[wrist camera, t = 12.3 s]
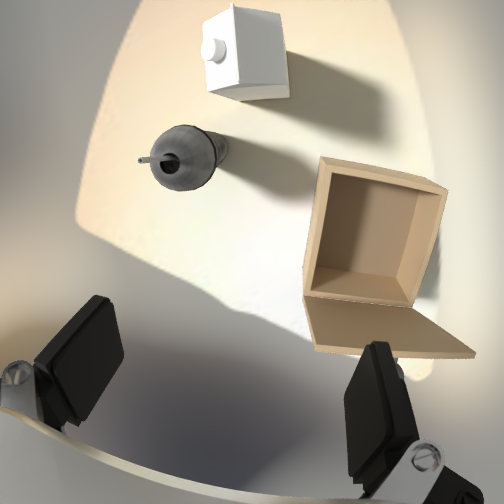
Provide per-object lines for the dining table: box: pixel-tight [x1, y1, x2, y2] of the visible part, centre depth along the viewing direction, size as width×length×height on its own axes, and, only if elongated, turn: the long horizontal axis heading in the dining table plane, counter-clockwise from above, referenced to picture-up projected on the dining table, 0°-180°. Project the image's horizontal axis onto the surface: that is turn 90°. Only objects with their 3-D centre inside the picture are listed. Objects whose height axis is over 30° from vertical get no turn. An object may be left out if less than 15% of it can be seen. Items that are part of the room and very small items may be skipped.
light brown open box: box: [303, 156, 448, 307], centre depth 39 cm, size 17×16×8 cm
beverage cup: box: [138, 125, 228, 191], centre depth 32 cm, size 7×7×20 cm
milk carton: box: [201, 3, 290, 101], centre depth 27 cm, size 7×7×19 cm
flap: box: [302, 295, 476, 380], centre depth 30 cm, size 17×16×6 cm
